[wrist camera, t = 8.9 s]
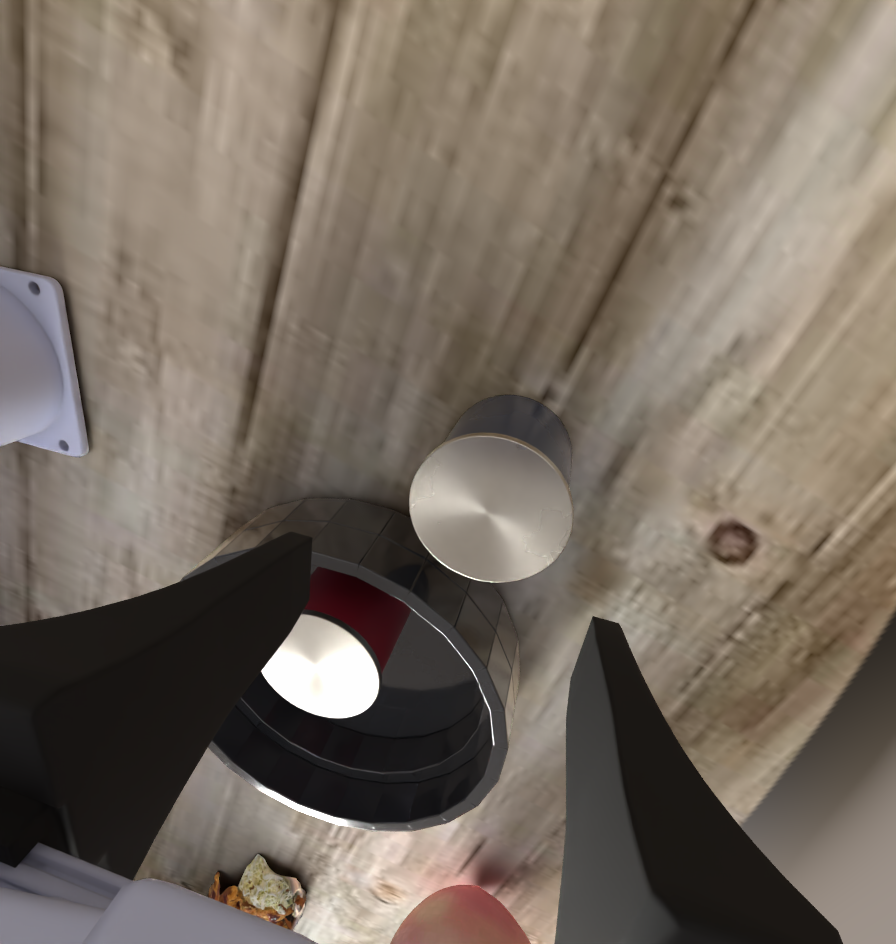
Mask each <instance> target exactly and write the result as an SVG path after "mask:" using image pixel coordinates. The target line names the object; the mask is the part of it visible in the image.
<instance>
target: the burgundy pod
mask: <svg viewBox="0 0 896 944" xmlns="http://www.w3.org/2000/svg"><path fill="white" fill-rule="evenodd" d="M410 612H411V608H410V607H409V606H407V605H406V604H405V603H404V602H402V601H401V600H399V599H397V598H395V597H393V596H391V595H389V594H387V593H385V592H383V591H381V590H379V589H378V588H376V587H374V586H372V585H370V584H368V583H366V582H364V581H362V580H360V579H358V578H356V577H353V576H350V575H346V574H343V573H339V572H336V571H332V570H329V569H325V568H322V567H317V568H316V570H315V571H314V572H313V573H312V575H311V577H310V598H309V601H308V603H307V605H306V607H305V608H304V610H303V612H302V614H301V616H300V617H299V619H298V621H297V622H296V624H295V626H294V627H293V629H292V631H291V632H290V634H289V635H288V637H287V638H286V639H285V641H284V642H283V643H282V645H281V646H280V647H279V648H278V650H277V651H276V652H275V654H274V655H273V656H272V658H271V659H270V660H269V662H268V663H267V664H266V665H265V667H264V668H263V669H262V671H261V672H262V673H263V675H264V677H265V678H266V680H267V681H268V683H269V684H270V685H271V686H272V687H273V688H274V689H275V690H276V691H277V692H278V693H279V694H280V695H281V696H282V697H283V698H285V699H286V700H287V701H289V702H290V703H292V704H293V705H295V706H297V707H298V708H301V709H303V710H305V711H307V712H310V713H312V714H315V715H319V716H323V717H329V718H346V717H352V716H355V715H358V714H360V713H362V712H364V711H365V710H367V709H368V708H369V707H370V706H371V705H372V704H373V703H374V701H375V700H376V698H377V696H378V693H379V691H380V688H381V684H382V672H383V670H384V668H385V666H386V664H387V662H388V659H389V657H390V655H391V653H392V651H393V649H394V647H395V644H396V642H397V640H398V638H399V636H400V634H401V632H402V629H403V627H404V625H405V623H406V621H407V619H408V617H409V614H410Z"/></svg>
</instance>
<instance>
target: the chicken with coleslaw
mask: <svg viewBox="0 0 896 944" xmlns="http://www.w3.org/2000/svg"><path fill="white" fill-rule="evenodd" d="M219 876H220V874H219V871H218V872H217V873H216V874H215V877H214V880H215V881H214V884H211V887H210V888H209V893H208V897H209V898H211V899H214V900H216V901H219V902H221V903H224V904H226V905H229V906H231V907H234V908H236V909H239V910H241V911H244V912H246V913H249V914H251V915H254V916H256V917H259V918H261V919H264V920H266V921H269V922H271V923H274V924H276V925H279V926H281V927H284V928H286V929H289V930H291V931H293V930H294V927H295V926H296V924H297V923H298V920H299V919H300V918H301V917H302V912H303V910H304V907H305V905H306V904H305V905H304V903H305V901H306V896H305V894H306V892H305V890H303V889H302V888H301V883H299V882H298V881H297V879H296V878H292V877H287V876H282V875H278V874H276V873H274V872H273V871H272V870H271V869H270V868H269V867H268V865H267V863H266V861H265V859H264V858H263V857H262V856H260V855H259V854H257V855H256V857H255V858H254V860H252V862H251V864H249V865H248V866H247V867H246V870H245V872H244V874H243V876H242V879H241V881H240V883H239V886H238V887H236V886H231V887H230V886H229V887H228V888H227V889H226V890H225V891H224V892H223V893H222V894H221V895H220V896H219V889H220V884H219V879H218V878H219Z"/></svg>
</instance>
